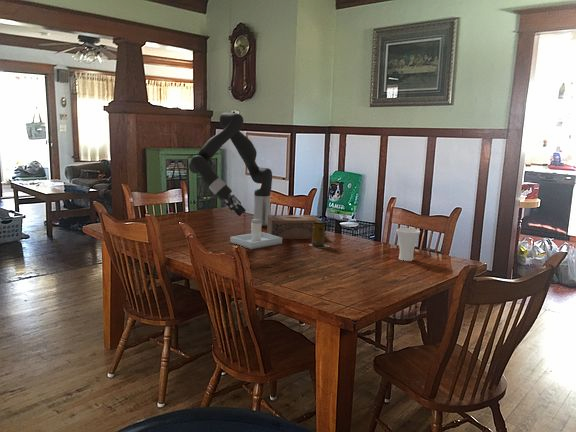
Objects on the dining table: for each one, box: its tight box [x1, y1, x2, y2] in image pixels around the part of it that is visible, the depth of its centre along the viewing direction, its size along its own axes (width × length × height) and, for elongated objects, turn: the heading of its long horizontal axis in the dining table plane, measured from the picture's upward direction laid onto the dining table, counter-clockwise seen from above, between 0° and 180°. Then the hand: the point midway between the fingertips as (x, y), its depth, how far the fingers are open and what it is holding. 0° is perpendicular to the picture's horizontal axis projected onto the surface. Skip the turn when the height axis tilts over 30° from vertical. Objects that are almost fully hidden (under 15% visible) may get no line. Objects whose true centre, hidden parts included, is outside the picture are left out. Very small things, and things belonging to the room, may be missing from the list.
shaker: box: [250, 218, 263, 242], centre depth 245 cm, size 5×5×11 cm
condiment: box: [308, 220, 331, 249], centre depth 244 cm, size 7×8×12 cm
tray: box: [230, 231, 283, 250], centre depth 245 cm, size 20×16×3 cm
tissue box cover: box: [266, 214, 321, 240], centre depth 264 cm, size 26×14×10 cm, turn 101°
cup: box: [396, 227, 421, 262], centre depth 224 cm, size 10×10×14 cm
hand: (242, 213), depth 244 cm, fingers open, 8 cm apart
